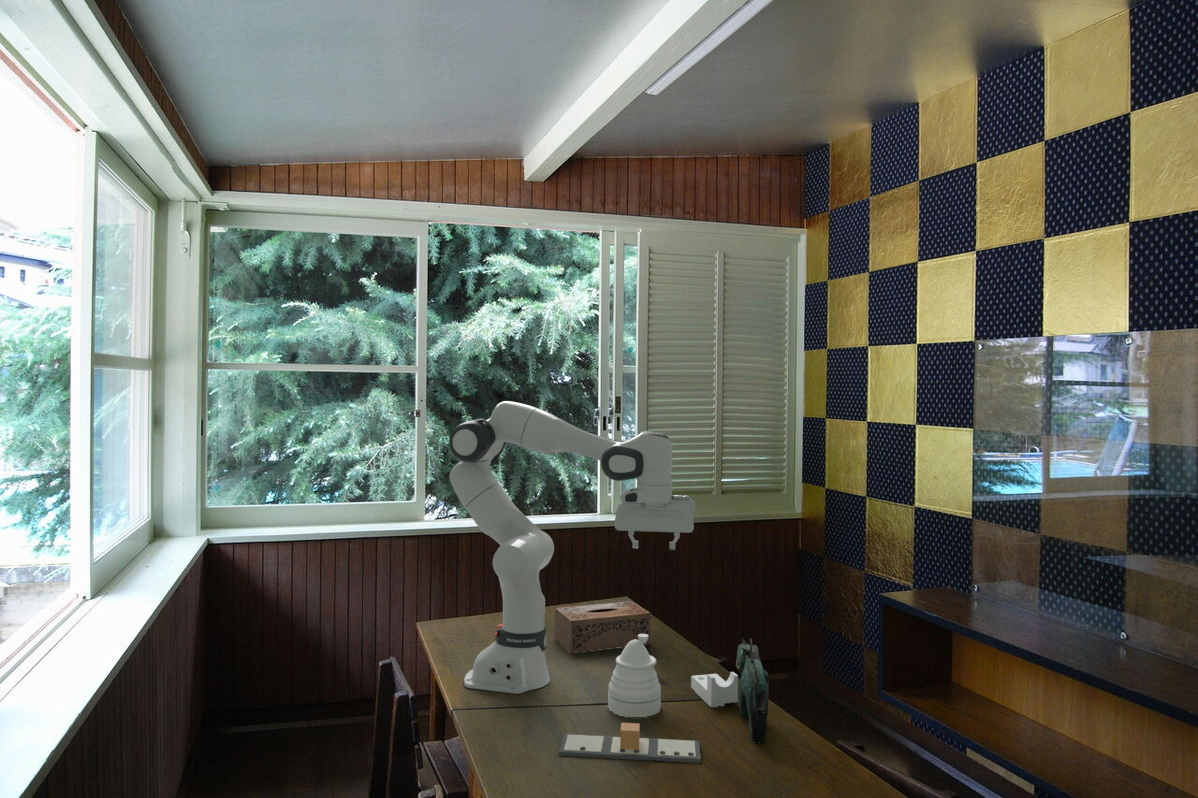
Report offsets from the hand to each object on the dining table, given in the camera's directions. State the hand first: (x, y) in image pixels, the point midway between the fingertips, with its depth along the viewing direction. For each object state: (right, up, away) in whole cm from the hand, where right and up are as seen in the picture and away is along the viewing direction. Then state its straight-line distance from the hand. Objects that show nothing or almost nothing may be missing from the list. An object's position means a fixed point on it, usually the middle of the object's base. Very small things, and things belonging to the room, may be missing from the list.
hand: (653, 548), depth 210 cm
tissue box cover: (-13, -37, +41) cm, 57 cm away
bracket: (+15, -38, -1) cm, 41 cm away
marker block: (-7, -37, -32) cm, 49 cm away
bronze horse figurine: (+22, -38, -19) cm, 48 cm away
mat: (-7, -38, -32) cm, 50 cm away
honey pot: (-5, -38, -9) cm, 39 cm away
